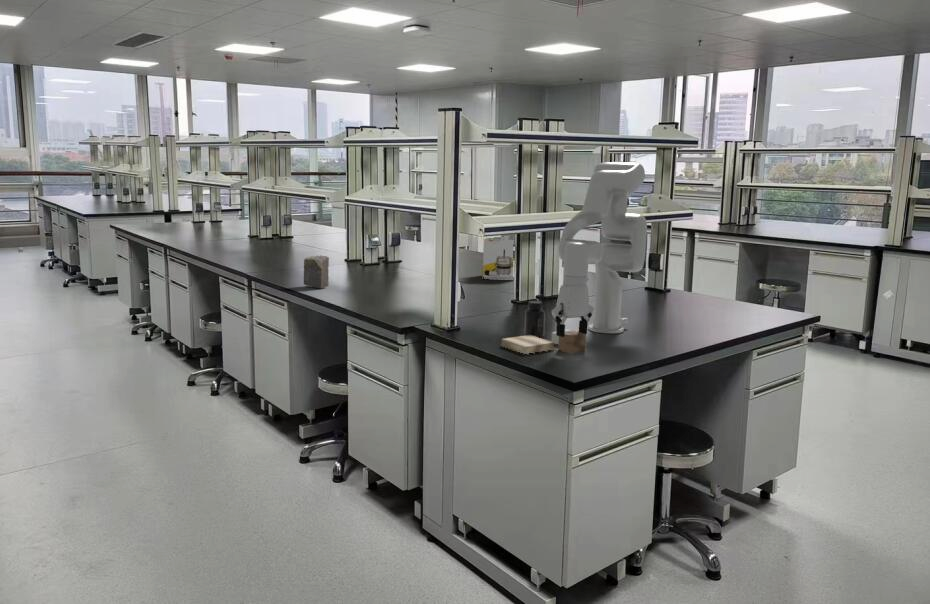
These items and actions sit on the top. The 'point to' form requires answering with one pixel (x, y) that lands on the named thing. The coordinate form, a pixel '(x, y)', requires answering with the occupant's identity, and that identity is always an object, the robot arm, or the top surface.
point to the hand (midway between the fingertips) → (571, 334)
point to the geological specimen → (316, 271)
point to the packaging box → (498, 257)
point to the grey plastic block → (557, 337)
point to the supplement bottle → (534, 319)
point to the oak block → (527, 344)
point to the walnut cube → (572, 342)
